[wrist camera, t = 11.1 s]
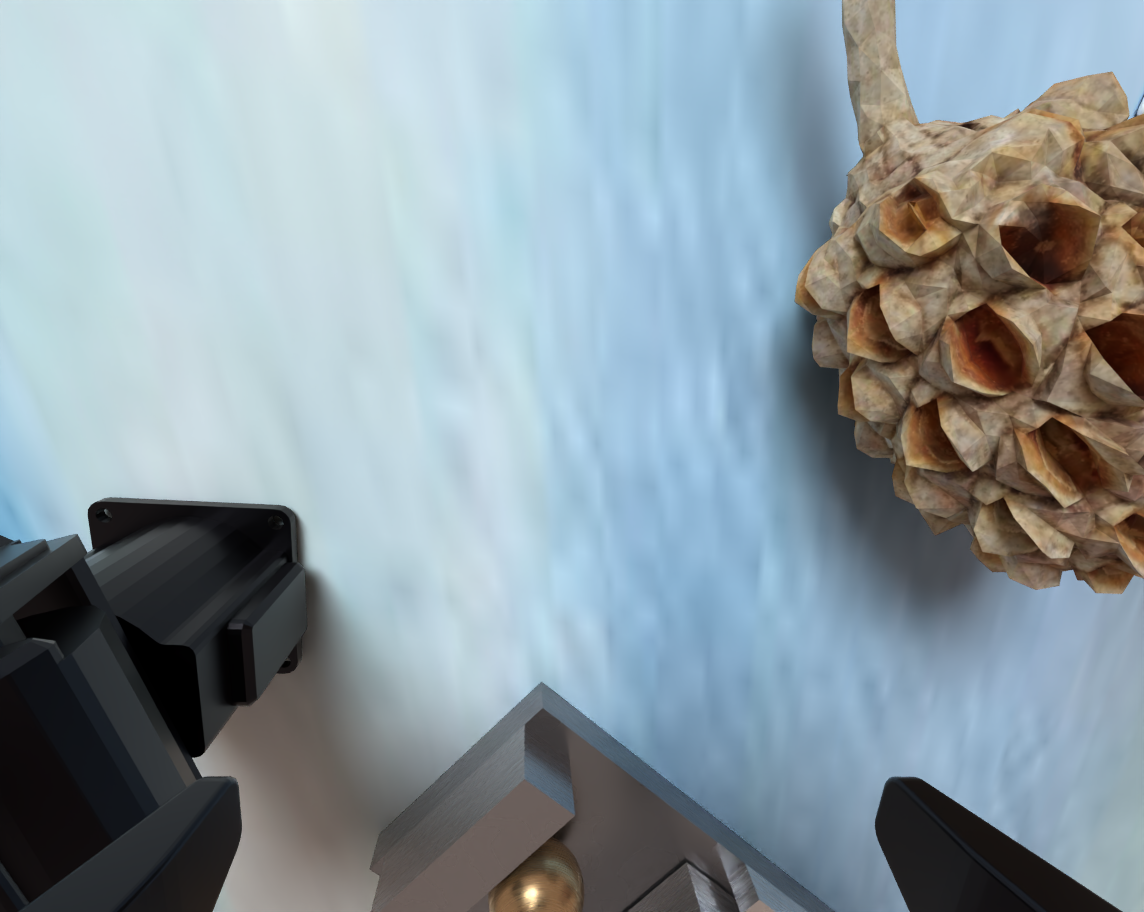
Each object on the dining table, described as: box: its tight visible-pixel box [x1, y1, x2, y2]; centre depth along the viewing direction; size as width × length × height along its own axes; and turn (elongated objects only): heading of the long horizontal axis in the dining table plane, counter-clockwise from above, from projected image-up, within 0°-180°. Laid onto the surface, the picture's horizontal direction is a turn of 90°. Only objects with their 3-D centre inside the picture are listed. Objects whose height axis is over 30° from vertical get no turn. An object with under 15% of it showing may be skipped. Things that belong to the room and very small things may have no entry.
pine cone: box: [795, 0, 1144, 594], centre depth 14 cm, size 22×10×10 cm, turn 31°
